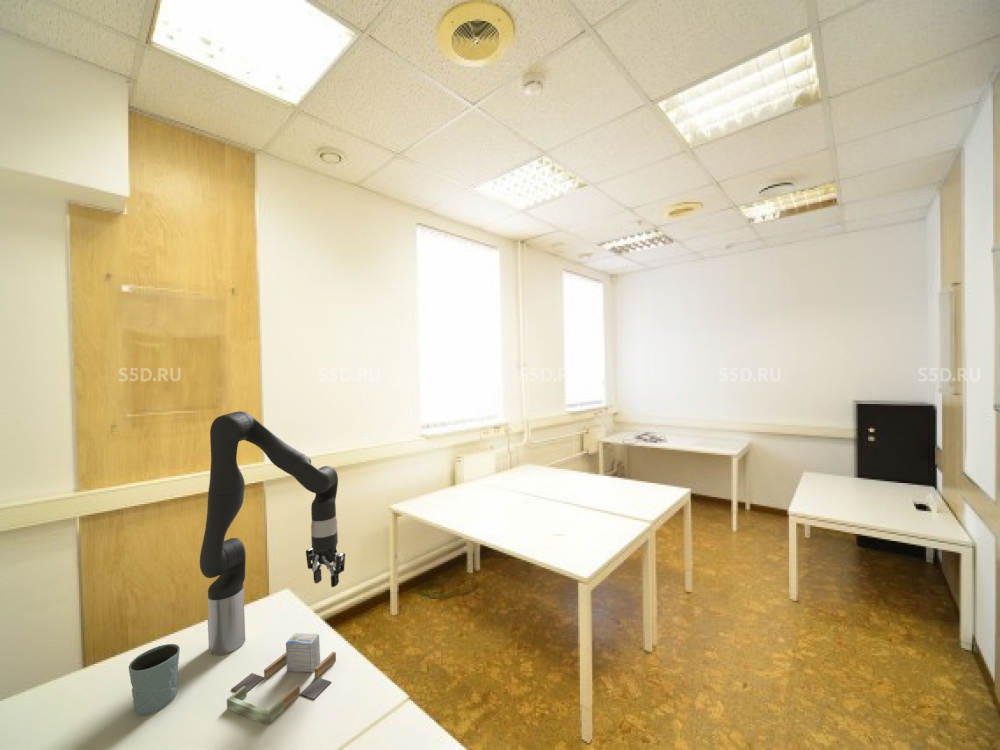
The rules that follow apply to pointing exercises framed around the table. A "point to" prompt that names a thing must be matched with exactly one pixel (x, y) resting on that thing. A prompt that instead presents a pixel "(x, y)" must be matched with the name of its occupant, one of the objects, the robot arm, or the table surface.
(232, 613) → the robot arm
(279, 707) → the trap channel
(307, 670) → the medicine box
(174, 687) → the blue-grey vase
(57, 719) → the table surface
